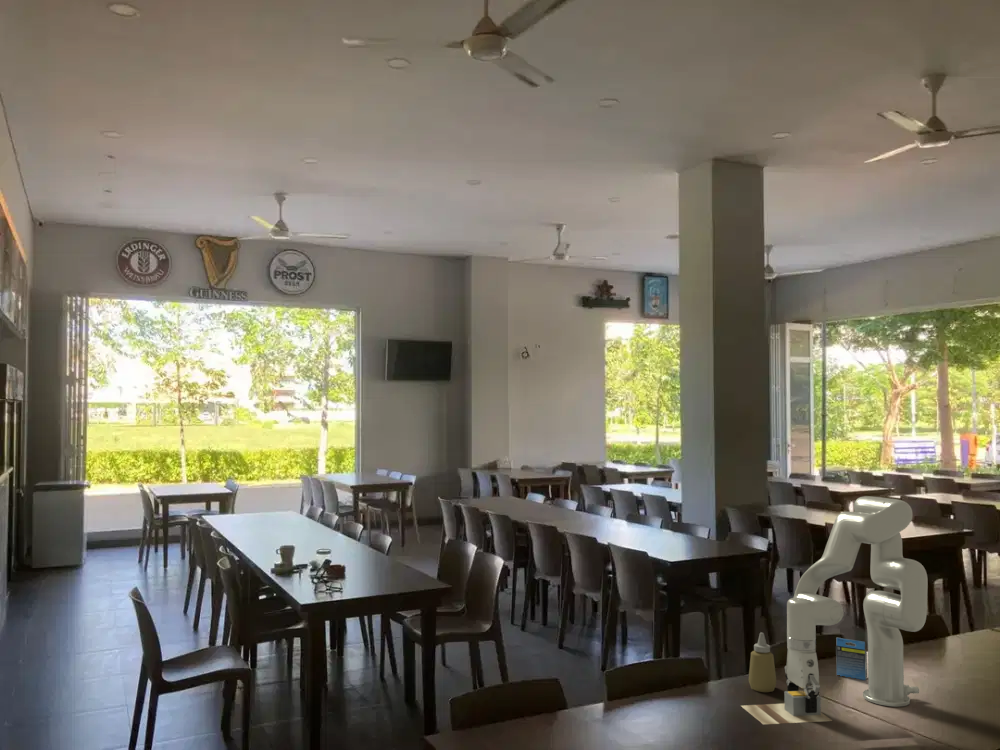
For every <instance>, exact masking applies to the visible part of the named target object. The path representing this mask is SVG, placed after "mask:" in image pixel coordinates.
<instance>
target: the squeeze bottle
mask: <svg viewBox="0 0 1000 750" xmlns="http://www.w3.org/2000/svg"><path fill="white" fill-rule="evenodd" d="M758 635H759V636H758V639H757V643H755V644H754V645H753V650H752V651H751V652H750V660H749V670H748V683H749V686H750V689H751V690H754V691H756V692H760V693H770V692H774V691H775V687H776V685H777V677H776V675H777V674H776V668H775V658H774V654H773V653H772V652H771V645H769V644H767V641H766V637H765V633H764V632H760V633H759V634H758Z"/></svg>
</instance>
